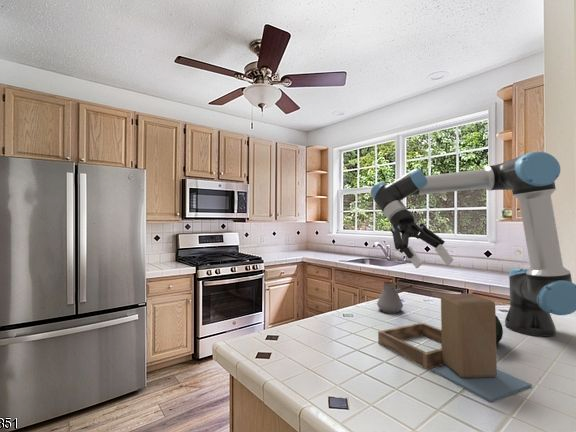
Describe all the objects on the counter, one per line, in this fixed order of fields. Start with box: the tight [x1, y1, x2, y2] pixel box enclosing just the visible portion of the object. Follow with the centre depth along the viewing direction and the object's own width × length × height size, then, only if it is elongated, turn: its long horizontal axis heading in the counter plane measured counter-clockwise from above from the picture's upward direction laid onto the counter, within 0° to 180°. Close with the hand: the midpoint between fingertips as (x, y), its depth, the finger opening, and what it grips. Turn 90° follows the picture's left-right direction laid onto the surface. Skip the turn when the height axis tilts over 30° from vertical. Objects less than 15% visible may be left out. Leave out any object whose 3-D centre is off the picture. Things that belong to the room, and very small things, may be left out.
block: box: [440, 292, 498, 378], centre depth 85 cm, size 10×10×20 cm
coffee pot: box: [376, 281, 418, 314], centre depth 139 cm, size 21×12×15 cm, turn 24°
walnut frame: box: [377, 322, 446, 370], centre depth 101 cm, size 20×20×4 cm
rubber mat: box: [432, 364, 533, 403], centre depth 81 cm, size 16×16×1 cm
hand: (435, 264), depth 96 cm, fingers open, 13 cm apart
